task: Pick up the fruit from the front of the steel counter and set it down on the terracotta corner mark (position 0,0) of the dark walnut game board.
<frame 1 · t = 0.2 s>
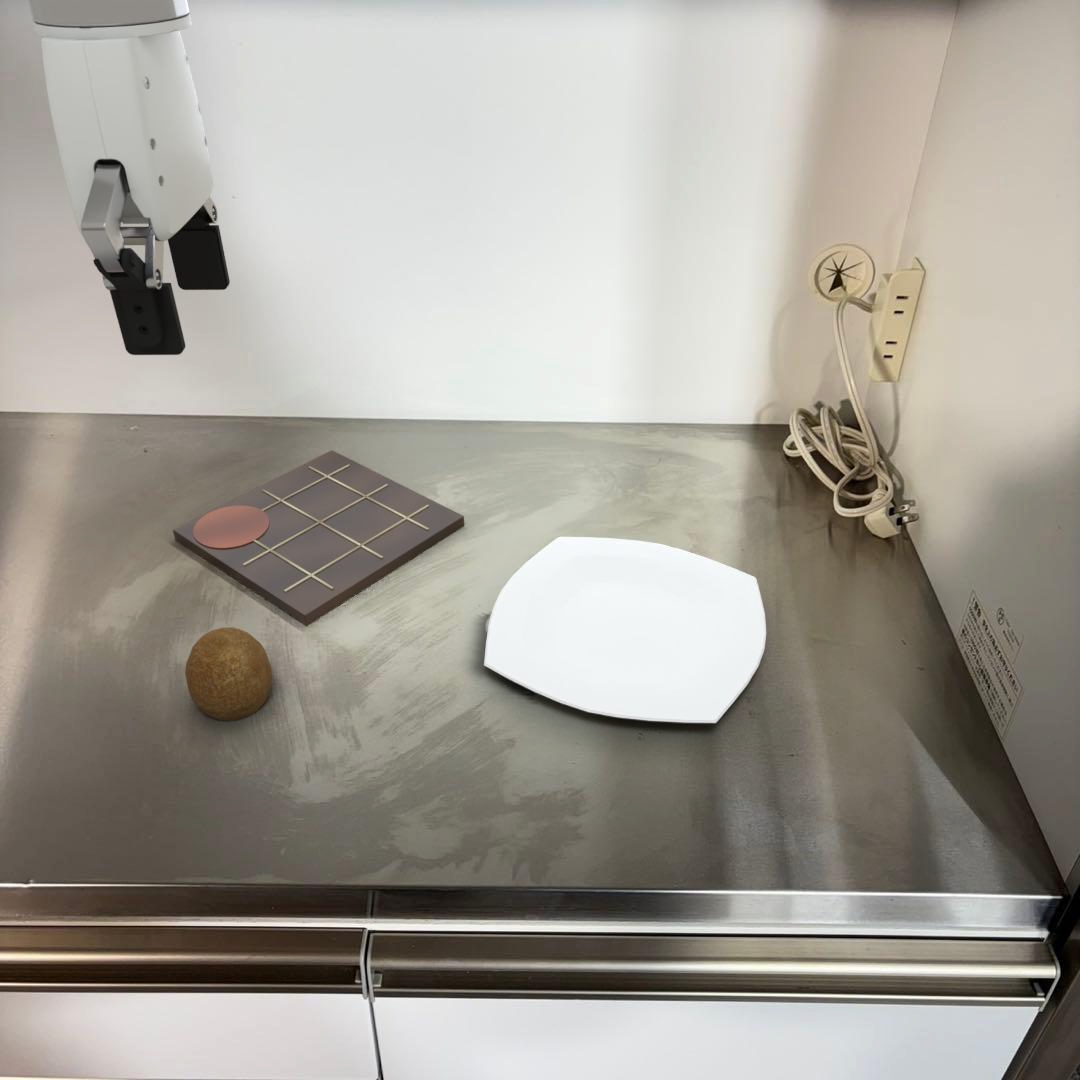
hand: (182, 318, 59), 32 cm above the worktop, tool pointing down, fingers open, 9 cm apart
fruit: (239, 713, 76), on the worktop
plate: (626, 636, 84), on the worktop
board: (321, 532, 96), on the worktop
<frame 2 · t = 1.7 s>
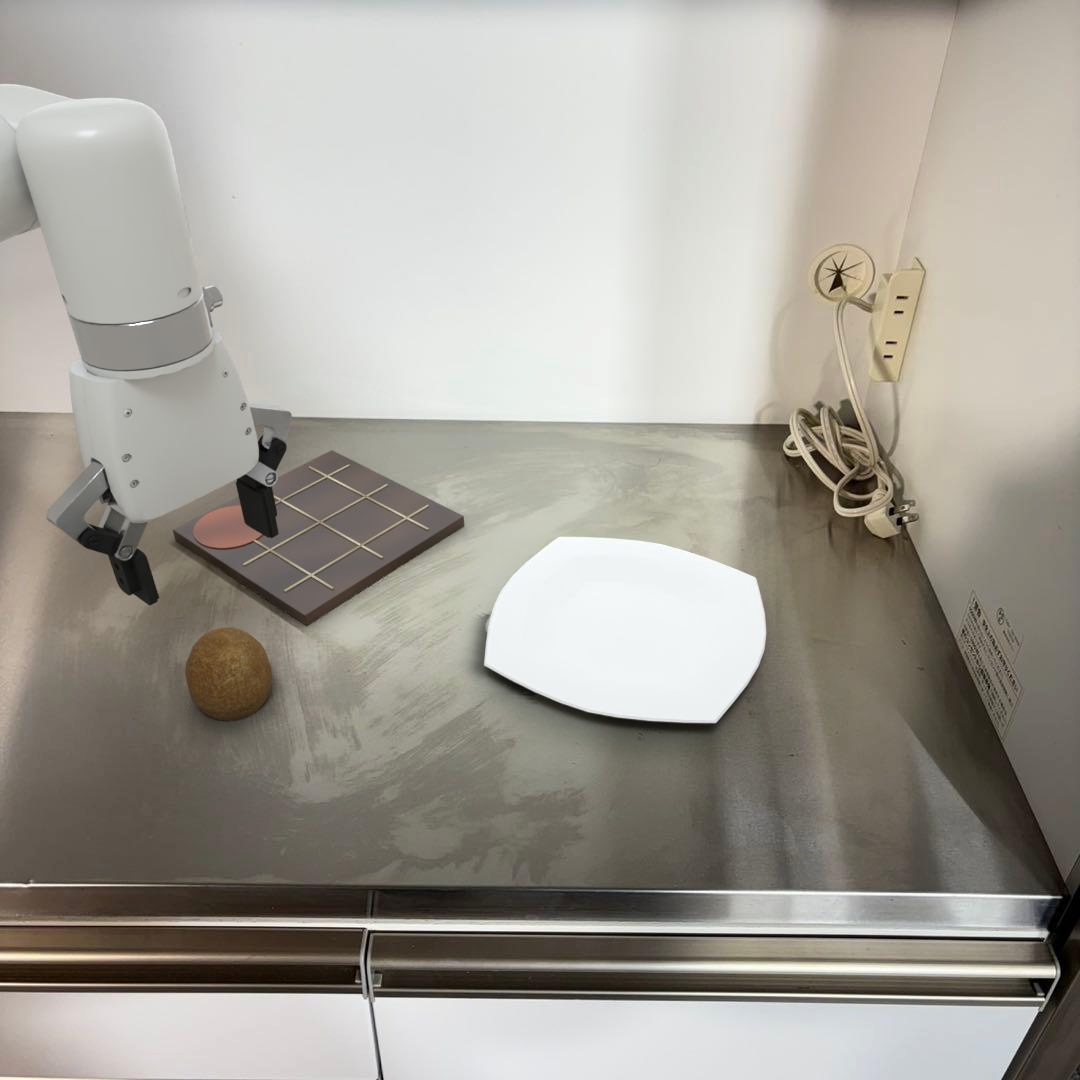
hand: (205, 561, 67), 15 cm above the worktop, tool pointing down, fingers open, 9 cm apart
nothing on the worktop moved.
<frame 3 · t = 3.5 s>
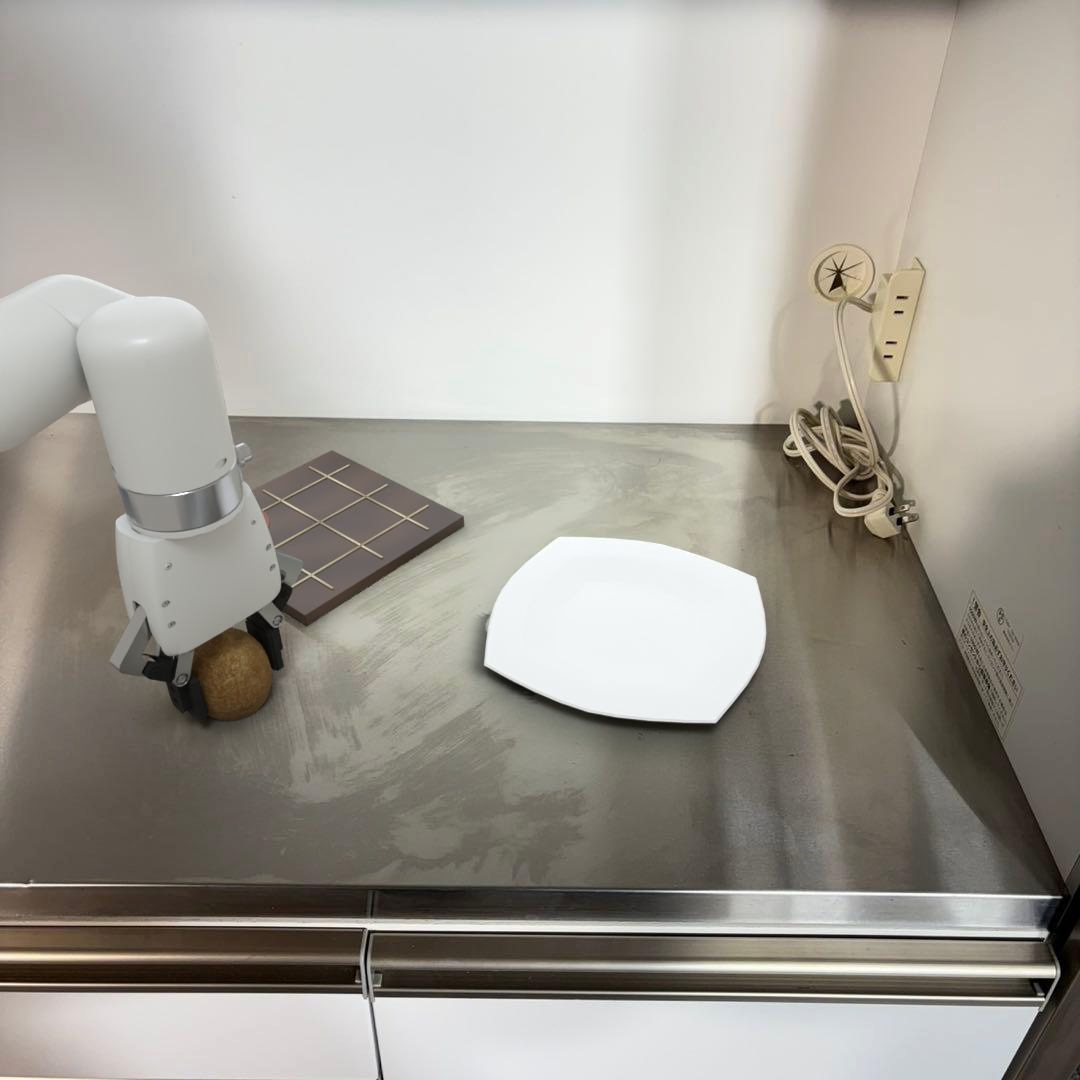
hand: (231, 684, 74), 3 cm above the worktop, tool pointing down, fingers closed on fruit, 6 cm apart
fruit: (239, 714, 76), on the worktop, touching gripper
everything else where it was.
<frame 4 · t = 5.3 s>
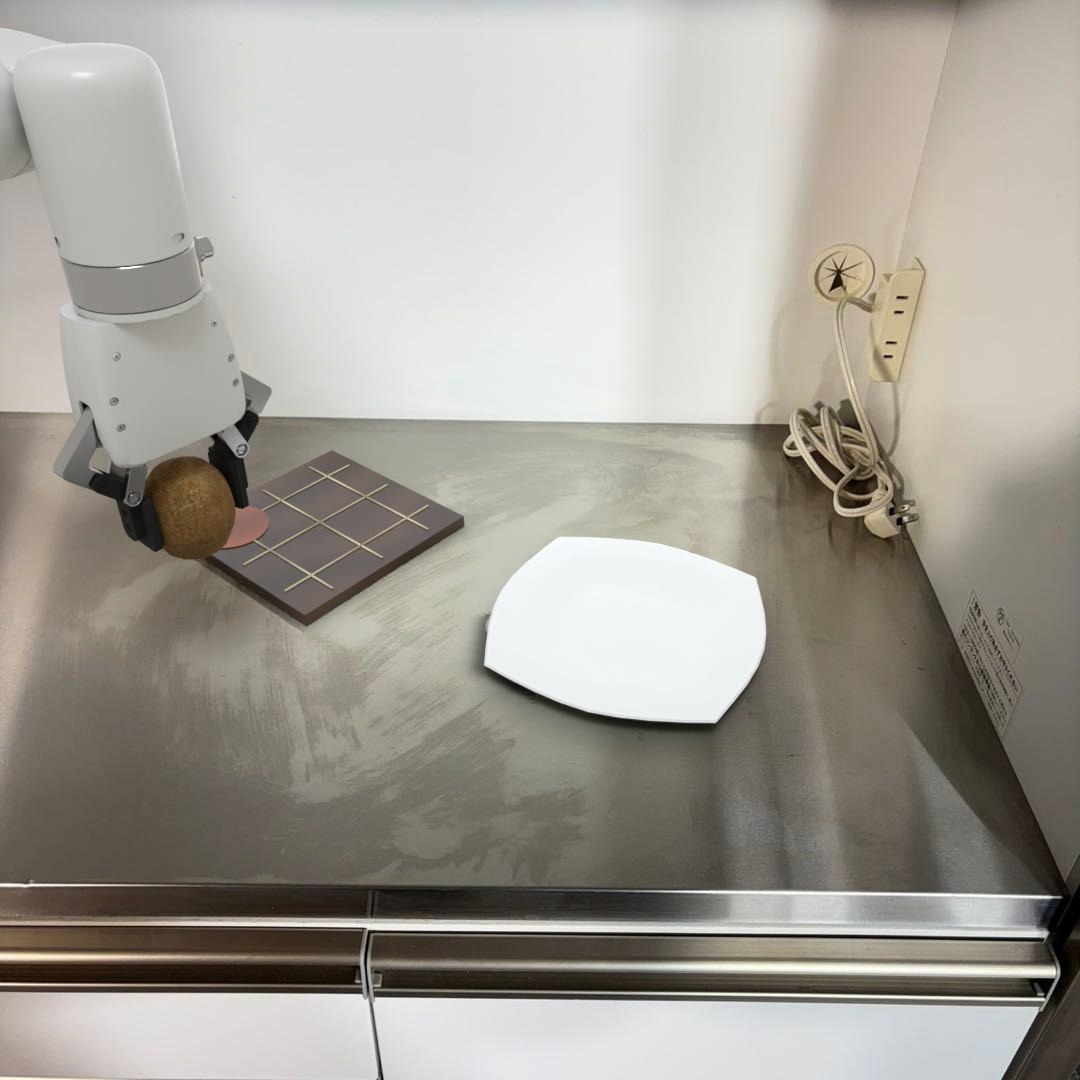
hand: (191, 519, 69), 16 cm above the worktop, tool pointing down, fingers closed on fruit, 6 cm apart
fruit: (200, 556, 70), point 13 cm above the worktop, touching gripper
everything else where it was.
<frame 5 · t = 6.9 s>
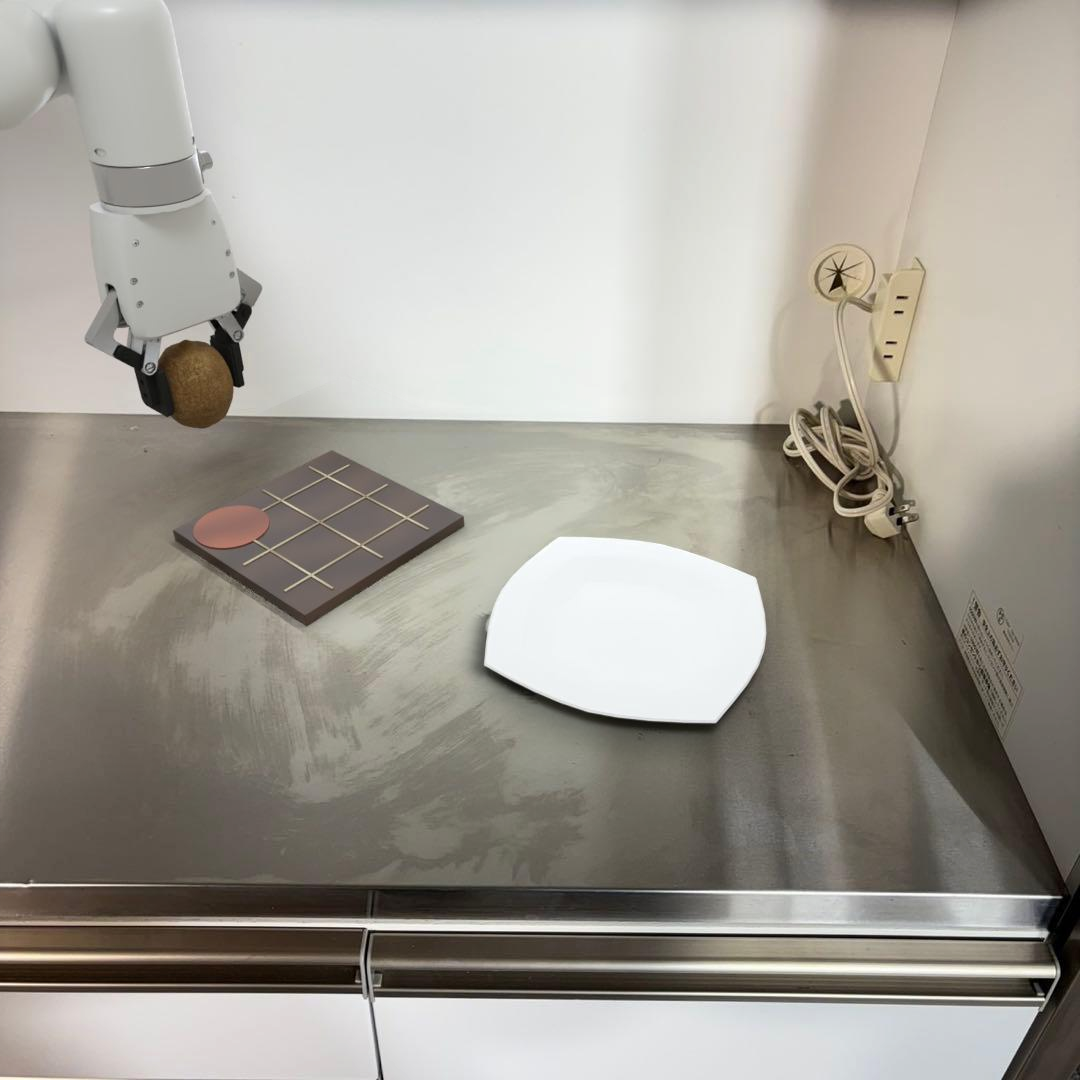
hand: (196, 394, 83), 17 cm above the worktop, tool pointing down, fingers closed on fruit, 6 cm apart
fruit: (204, 428, 85), point 14 cm above the worktop, touching gripper
everything else where it was.
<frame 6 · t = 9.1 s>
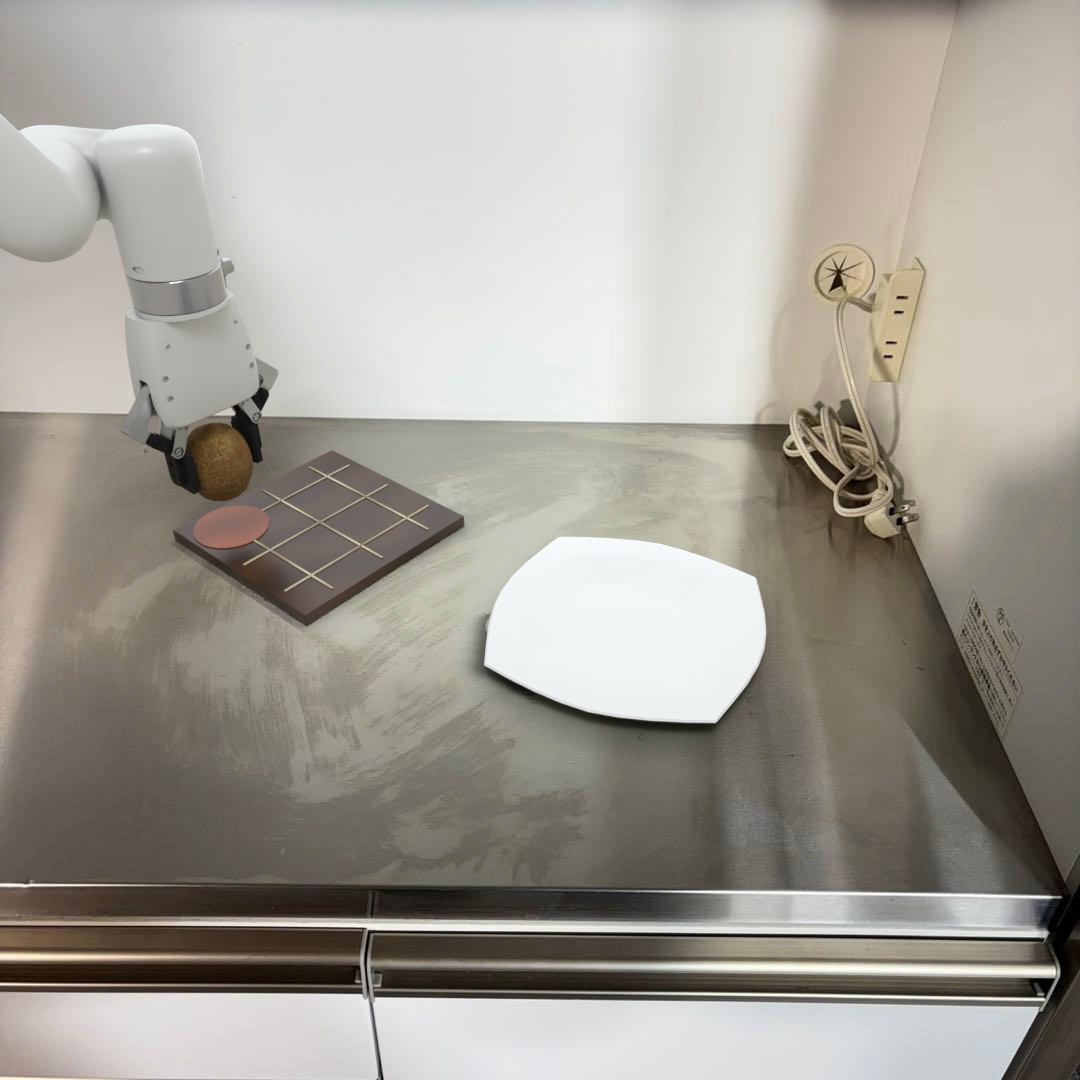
hand: (219, 471, 91), 8 cm above the worktop, tool pointing down, fingers closed on fruit, 6 cm apart
fruit: (226, 499, 92), point 4 cm above the worktop, touching gripper
everything else where it was.
when the fingers open (4 cm above the worktop, at t = 10.5 s): fruit stays where it is, resting on board.
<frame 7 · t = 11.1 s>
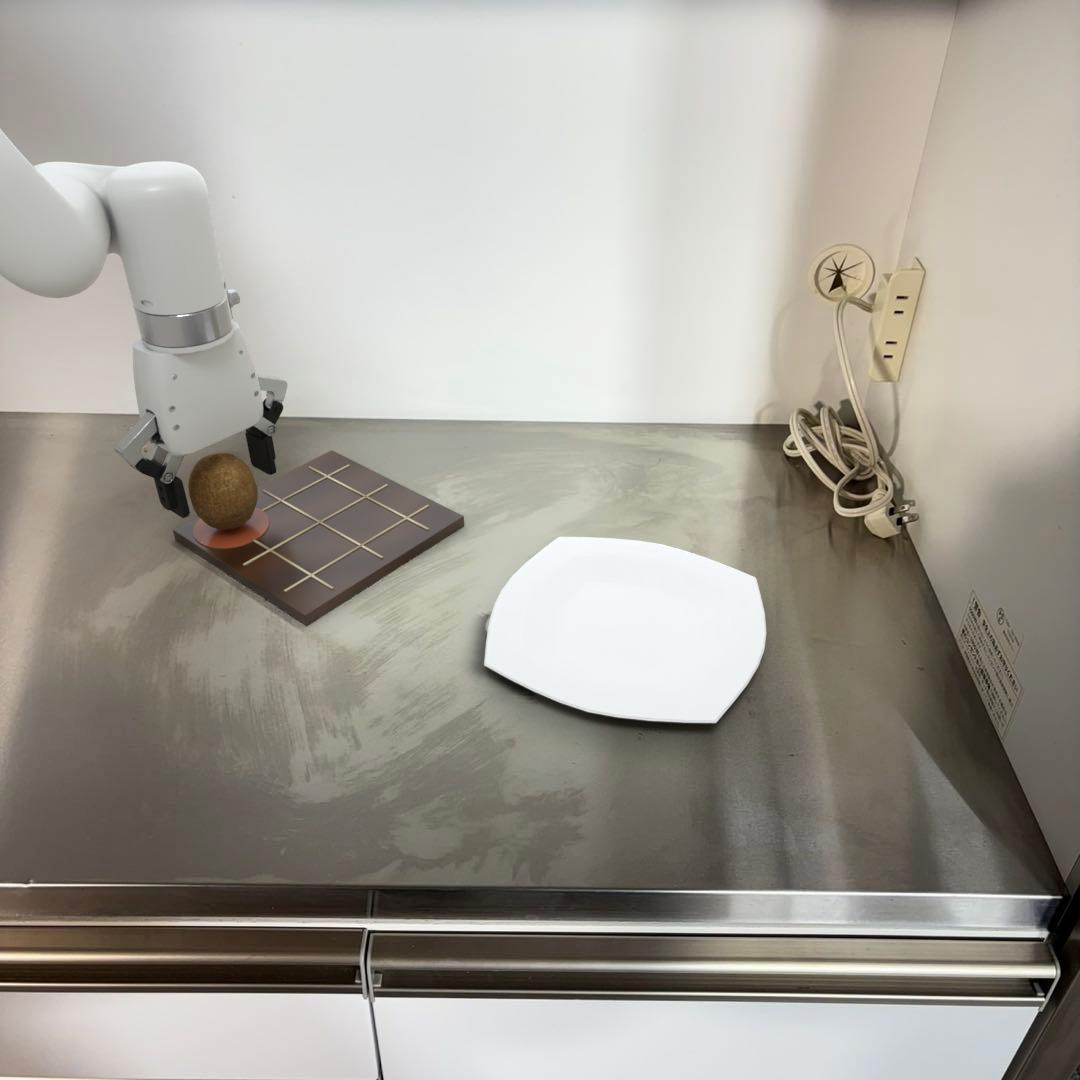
hand: (222, 489, 92), 6 cm above the worktop, tool pointing down, fingers open, 9 cm apart
fruit: (231, 527, 94), point 1 cm above the worktop, touching board
everything else where it was.
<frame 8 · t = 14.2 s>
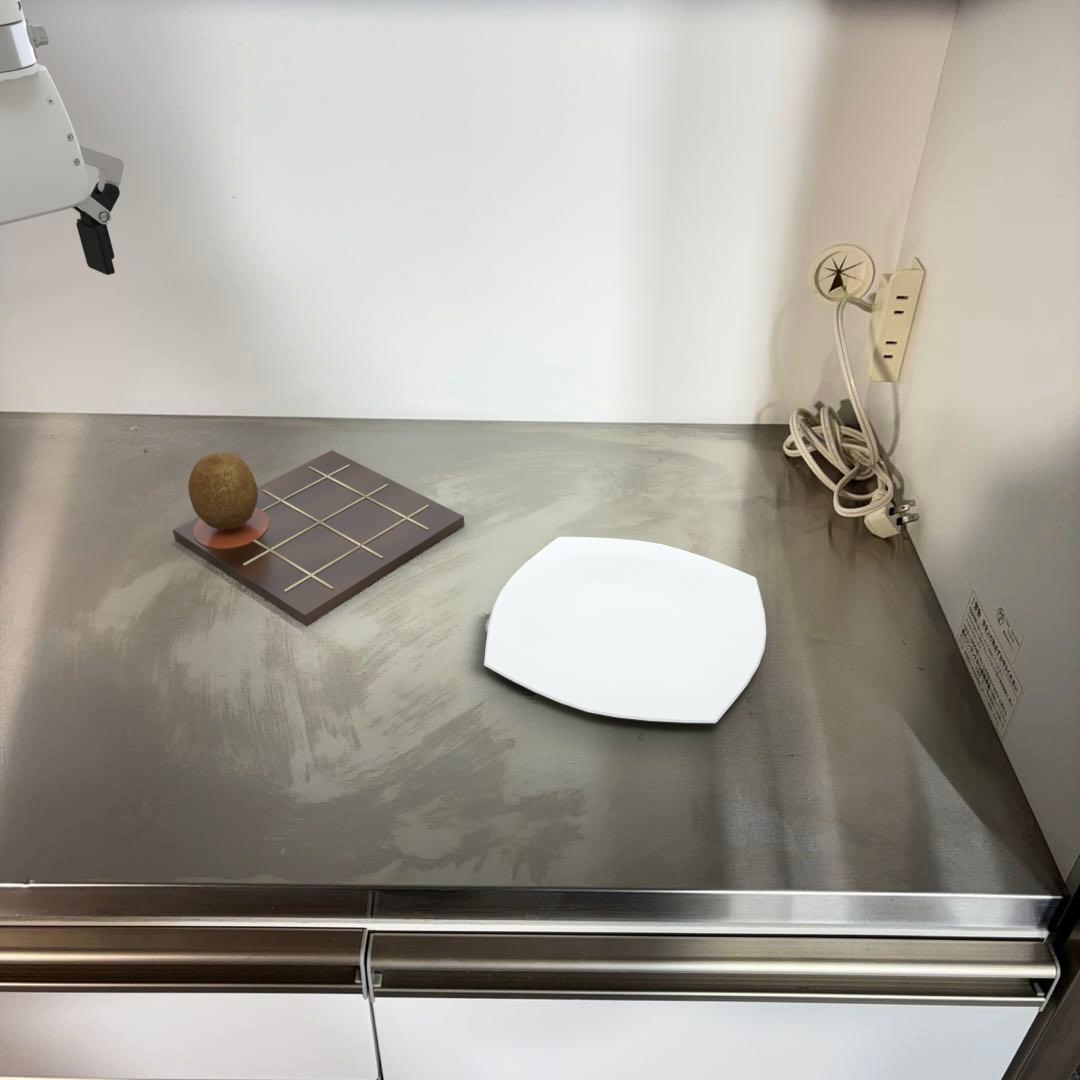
hand: (46, 287, 78), 26 cm above the worktop, tool pointing down, fingers open, 9 cm apart
nothing on the worktop moved.
at the end: fruit 0.0 cm from the target spot on the board, point 1.1 cm above the board's base; the gripper is holding nothing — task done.
